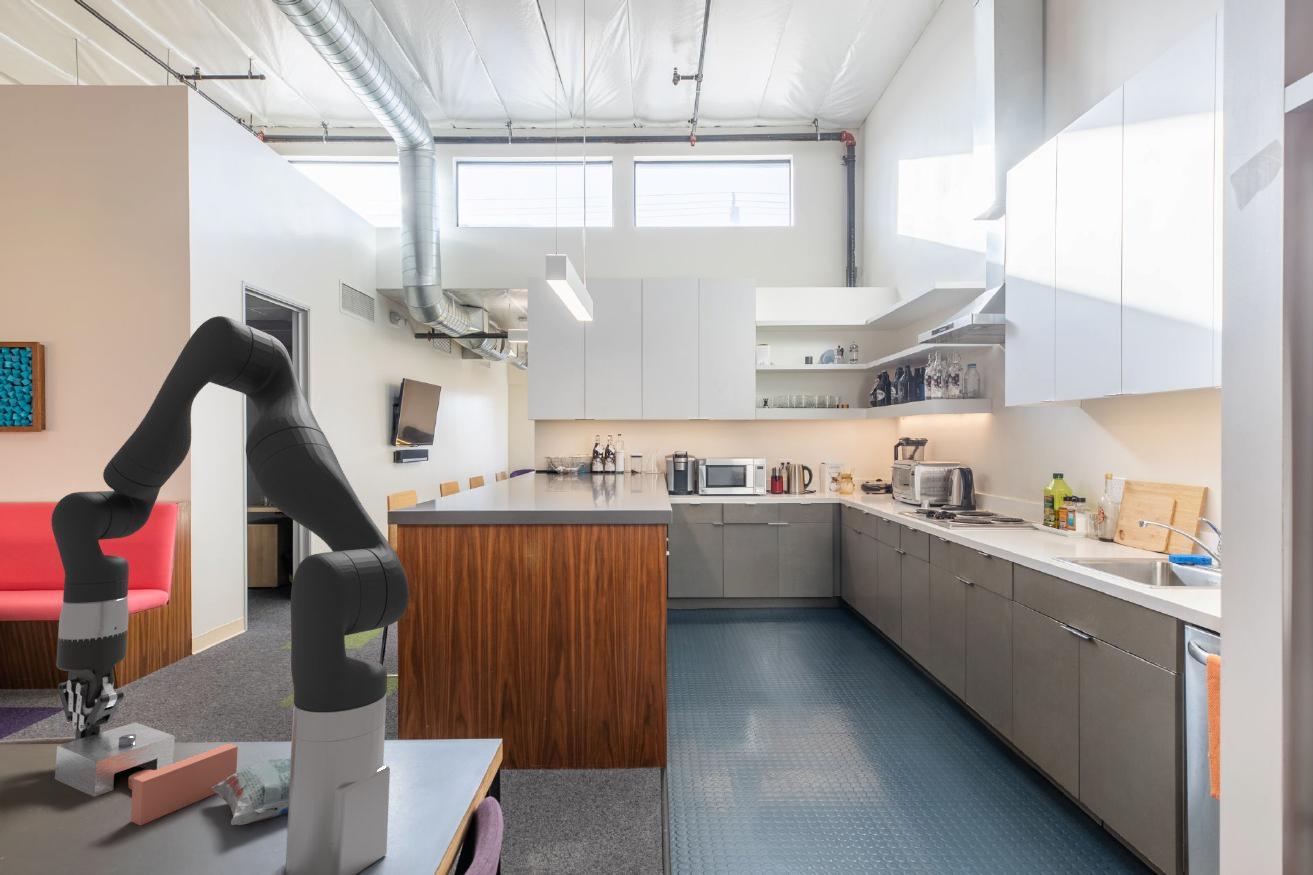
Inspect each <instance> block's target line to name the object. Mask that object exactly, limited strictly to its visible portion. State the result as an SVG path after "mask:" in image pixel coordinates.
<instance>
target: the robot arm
mask: <svg viewBox="0 0 1313 875" xmlns="http://www.w3.org/2000/svg"><path fill="white" fill-rule="evenodd" d="M210 383H211V384H214V385H217V386H220V387H224V388H225V389H226V388H227V389H229V390H233V391H236V392H239V393H241V394H243V395H246V397H248V398H249V399H250V400H251V401H252V403H253V404H254V406H255V408H256V411H257V412H258V415H259V417H258V419H257V420H256V422H255V424H254V425H253V426H252V428H251V430H250V432H249V434H248V436H247V439H246V442H245V443H246V445H245V456H246V459H247V462H248V465H249V467H250V470H251V472H252V474H253V476H254V479H255V481H256V484H257V486H258V488H259V490H260V491H261V493H262V494H263V496H264V498H266V500H267V501H268V502H269V503H270V504H272V505H273V506H274V507H275V508H276V509H278V511H280V512H281V513H283V514H285V515H286V516H287V517H289V518H291V519H292V520H293V521H294V522H296V523H297V524H299V525H301V526H302V527H304V528H306V529H307V530H309V531H310V532H312V533H313V534H314V535H315V536H317V537H319V539H321V540H322V541H323V542H324V543H325V544H326V545H327V546H328V547H329V548H330V550H331V551H328V552H326V551H325V552H319V553H314V554H310V555H308V556H306V557H305V558H304V559H303V560H302V561H301V562H300V563H299V564H298V566H297V568H296V570H295V573H294V575H293V578H292V584H291V591H290V632H291V633H290V634H291V636H290V640H291V642H290V670H291V671H290V672H291V678H292V685H293V707H292V708H293V709H292V711H293V712H292V725H291V726H292V729H291V730H292V732H291V745H290V746H291V748H290V759H291V763H290V783H289V804H288V813H287V825H286V826H287V827H286V828H287V829H286V856H285V872H286V875H357V874H358V873H360V872H362V871H363V870H365V869H366V868H368V867H369V866H371V865H372V864H374V863H375V862H377V861H378V860H380V859H381V858H383V857H384V856H386V855H387V854H388V853H387V852H388V849H387V847H388V823H389V804H390V803H389V802H390V780H391V779H390V778H391V776H390V775H391V768H390V766H389V765H387V764H386V765H385V764H384V760H385V759H384V757H385V737H386V735H385V732H386V731H385V730H386V714H387V712H386V711H387V710H386V709H387V691H388V671H387V669H386V667H385V666H384V665H383V664H381V663H379V662H378V661H374V660H371V659H363V658H357V657H356V658H355V657H349V656H347V653H346V643H345V639H346V638H345V637H346V636H350V635H354V634H361V633H364V632H369V631H374V630H377V629H382V628H385V627H387V626H391V625H393V624H395V623H396V622H398V621H400V619H401V618H402V617H403V616H404V615H405V613H406V611H407V609H408V608H407V607H408V604H409V598H410V590H409V582H408V578H407V575H406V572H405V570H404V567H403V564H402V563H401V561H400V558H399V557H398V555H397V553H396V552H395V550H394V549H393V547H392V546H391V544H390V543H389V542H388V540H387V539H386V537H385V536H384V535H383V533H382V531H381V530H380V529H379V528H378V526H377V525H376V523H375V522H374V521H373V519H372V518H371V516H370V515H369V513H368V512H367V510H366V509H365V507H364V506H363V504H362V503H361V500H359V497H358V496H357V494H356V492H355V491H354V489H353V486H352V485H351V484H350V482H349V480H348V478H347V476H346V474H345V473H344V470H343V469H342V467H341V464H340V463H339V460H338V458H337V456H336V453H335V452H334V450H333V448H332V446H331V443H330V442H329V441H328V438H327V436H326V435H325V432H324V431H323V430H322V428H321V427H320V425H319V424H318V421H317V419H316V417H315V416H314V414H313V411H312V410H311V407H310V404H309V403H308V401H307V399H306V397H305V394H304V393H303V390H302V387H301V385H300V382H299V378H298V375H297V373H296V371H295V367H294V364H293V361H292V359H291V356H290V354H289V352H288V349H287V348H286V346H284V344H283V343H282V342H281V341H280V340H279V339H278V338H276V337H275V336H273V335H272V334H269V333H266V332H264V331H263V330H259V329H257V328H255V327H252V326H250V325H247V324H245V323H244V322H241V321H239V320H236V319H233V318H230V317H226V316H222V315H219V316H218V315H217V316H213V317H211V318H209V319H207V320H205V321H204V322H203V323H201V324H200V325H199V326H198V328H197V329H196V330H195V331H194V332H193V333H192V335H191V337H190V338H189V339H188V340H187V343H186V344H185V345H184V347H183V348H182V350H181V352H180V353H179V355H178V357H177V359H176V361H175V362H174V363H173V366H172V368H171V369H170V371H169V373H168V374H167V376H166V378H165V380H164V381H163V384H161V387H160V389H159V391H158V392H157V395H156V396H155V399H154V400H153V402H152V404H151V406H150V407H149V409H148V411H147V412H146V414H145V416H144V417H143V419H142V420H141V421H140V423H139V424H138V425H137V427H136V428H135V430H134V431H133V432H132V434H131V435H130V437H128V439H127V440H125V442H124V444H123V445H121V447H120V448H119V450H117V452H115V454H114V455H113V456H112V458H111V459H110V460H109V461H108V463H107V464H106V466H105V467H104V470H103V474H102V476H103V477H102V478H103V481H104V482H105V483H106V485H107V487H109V488H110V489H111V490H106V491H105V490H104V491H99V490H98V491H77V492H76V491H75V492H72V493H71V492H70V493H69V494H67V495H65V496H64V497H61V499H60V500H59V501H58V502H57V503H56V505H55V506H54V509H53V511H52V514H51V529H52V533H53V537H54V540H55V543H56V545H57V546H56V547H57V550H58V553H59V557H60V560H61V564H62V567H63V571H64V583H63V594H62V606H61V611H60V614H59V621H58V633H57V634H58V635H57V636H58V637H57V647H56V648H57V650H56V664H55V665H56V669H59V670H61V671H67V672H68V673H67V679H68V680H67V681H64V682H60V683H58V685H57V690H58V694H59V697H60V701H61V704H62V708H63V710H64V711H63V712H64V714H65V715H64V716H65V718H66V722H68V723H71V722H72V724H71V725H72V728H73V729H74V730H75V736H74V738H75V739H74V741H75V740H78V739H81V738H85V737H88V736H91V735H95V734H98V733H101V732H100V731H101V726H103V725H105V724H106V725H107V724H109V723H110V722H111V720H112V719H113V718H114V716H115V714H116V712H117V710H118V709H119V706H120V705H121V702H122V701H123V699H124V695H125V694H124V691H123V690H118V691H115V689H114V685H115V675H114V667H115V665H116V664H119V663H121V662H122V661H124V660H125V659H126V658H127V647H128V632H129V615H130V614H129V612H130V610H129V602H128V594H129V580H130V579H129V576H130V567H129V566H130V564H129V561H128V560H127V559H126V558H125V557H122V556H117V555H110V554H104V552H103V550H102V548H101V546H100V543H99V542H100V541H102V540H104V541H105V540H113V539H114V540H115V539H122V538H128V537H130V536H132V535H134V534H135V533H137V532H138V531H139V530H141V529H142V528H143V527H144V526H145V525H146V524H147V523H148V521H149V519H150V516H151V514H152V511H153V509H154V506H155V504H156V502H157V499H158V496H159V493H160V490H161V488H162V487H163V486H164V485H165V484H166V483H167V481H168V480H169V479H171V476H173V474H174V473H175V472H176V471H177V470H178V468H179V467H180V466H181V465H182V463H183V462H184V461H185V460H186V457H187V456H188V454H189V451H190V448H191V444H192V419H191V417H192V416H191V415H192V406H193V404H194V400H195V398H196V397H197V396H198V394H199V392H200V391H202V390H203V388H205V386H206V385H207V384H210Z"/></svg>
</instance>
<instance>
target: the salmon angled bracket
mask: <svg viewBox="0 0 1313 875" xmlns="http://www.w3.org/2000/svg"><path fill="white" fill-rule="evenodd" d="M238 748H239V747H238V745H234V744H231V743H226V744H223V745H221V746H218V747H214V748H212V749H209V750H207V751H204V752H201V753H198V754H195V755H192V756H191V757H187V758H185V759H182V760H180V761H177V762H173V764H171V765H168V766H165V767H162V768H160V769H157V770H145V769H143V770H139V771H136V772H133V773H131V774H130V775H129V776H128V782H127V788H128V789H129V790H132V791H131V793H132V794H131V810H130V812H131V813H130V822H131V823H134V824H136V825H138V826H142V825H146V824H147V823H149V822H152V821H154V820H157V819H159V818H161V817H164V816H165V815H168V814H170V813H173V812H175V811H177V810H180V809H182V808H184V807H187V806H189V805H192V804H194V803H196V802H199V801H201V800H203V799H205V798H208V797H210V796H213V795H215V794H216V793H215V792H214V791H213V790H212V788H213V787H214V786H216V785H217V784H219V783H220V782H222V781H225V780H226V779H227V778H228V777H230V776H231V775H233V774H235V773H237V770H238V769H237V768H238V767H237V766H238V765H237V764H238Z"/></svg>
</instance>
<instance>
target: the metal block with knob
mask: <svg viewBox="0 0 1313 875" xmlns="http://www.w3.org/2000/svg"><path fill="white" fill-rule="evenodd" d="M175 736H176V735H173V734H171V733H168V732H164V731H162V730H158V729H156V728H153V727H150V726H147V725H144V724H140V723H138V722H132V723H129V724H125V725H122V726H119V727H114V728H112V729H109V730H106V731H105V730H104V731H101V732H100V733H98V734H95V735H91V736H88V737H85V738H81V739H78V740H75V739H74V740H72V741H68V742H65V743H61V744H59V745H57V746H56V760H55V775H54V776H55V777H54V780H56V781H57V782H60V783H62V784H64V785H67V786H70V787H71V788H74V789H76V790H78V791H80V792H82V793H85V794H86V795H90V796H91V797H97V796H100V795H101V796H102V795H103V794H105V793H109V792H111V791H114V782H115V781H114V780H115V774H117V773H120V772H122V771H125V770H128V769H131V768H134V767H137V768H141V769H143V770H157V769H160V768H162V767H165V766H168V765H171V764H173V763H174V757H175V756H174V755H175V753H174V752H175Z"/></svg>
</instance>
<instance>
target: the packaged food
mask: <svg viewBox="0 0 1313 875" xmlns="http://www.w3.org/2000/svg"><path fill="white" fill-rule="evenodd" d="M290 763H291V758H279V759H278V758H277V759H269V760H266V761H261V762H259V763H256V764H253V765H250V766H247V768H244V769H242V770H239V771H236V773H235V774H233V775H231V776H230V777H228V778H227V779H226V780H225V781H222V782H220V783H219V784H217V785H216V786H214V787H213V788H212V790H213V791H214V792H215V794H218V795H219V796H221V799H222V800H223V801H224V802H225V803H227V805H228V806H229V807H230V809H231V814H232V816H233V817H232V818H231V822H230V824H231V825H232V826H233V825H237V826H241V825H248V824H251V823H255V822H259V821H263V820H268V819H271V818H274V817H278V816H281V815H282V816H283V815H286V814H288V804H289V783H290Z"/></svg>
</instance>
